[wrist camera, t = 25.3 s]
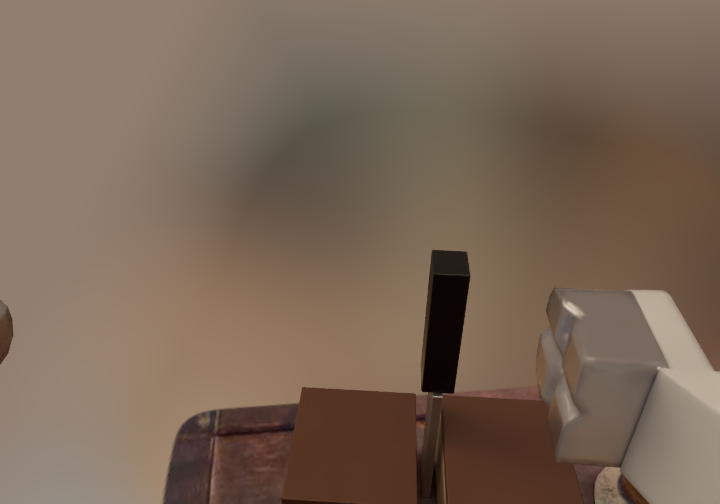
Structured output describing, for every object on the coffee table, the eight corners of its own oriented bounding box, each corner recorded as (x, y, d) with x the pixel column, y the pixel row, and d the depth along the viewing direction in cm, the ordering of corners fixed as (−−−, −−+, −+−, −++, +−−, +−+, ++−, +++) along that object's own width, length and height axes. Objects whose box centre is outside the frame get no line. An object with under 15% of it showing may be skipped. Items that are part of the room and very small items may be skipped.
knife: (411, 496, 44) (433, 277, 34) (411, 461, 47) (431, 246, 36) (440, 498, 44) (471, 279, 34) (438, 463, 47) (466, 248, 36)
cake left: (286, 556, 41) (281, 498, 37) (305, 443, 48) (302, 386, 45) (411, 564, 40) (417, 507, 37) (410, 449, 48) (415, 393, 44)
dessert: (727, 479, 45) (740, 468, 40) (704, 573, 43) (716, 574, 38) (610, 437, 49) (609, 423, 44) (585, 523, 47) (581, 517, 42)
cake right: (439, 566, 40) (448, 509, 37) (434, 451, 48) (441, 394, 44) (567, 575, 40) (587, 518, 36) (541, 457, 47) (556, 401, 44)
